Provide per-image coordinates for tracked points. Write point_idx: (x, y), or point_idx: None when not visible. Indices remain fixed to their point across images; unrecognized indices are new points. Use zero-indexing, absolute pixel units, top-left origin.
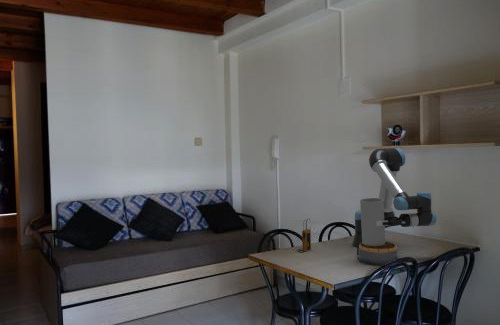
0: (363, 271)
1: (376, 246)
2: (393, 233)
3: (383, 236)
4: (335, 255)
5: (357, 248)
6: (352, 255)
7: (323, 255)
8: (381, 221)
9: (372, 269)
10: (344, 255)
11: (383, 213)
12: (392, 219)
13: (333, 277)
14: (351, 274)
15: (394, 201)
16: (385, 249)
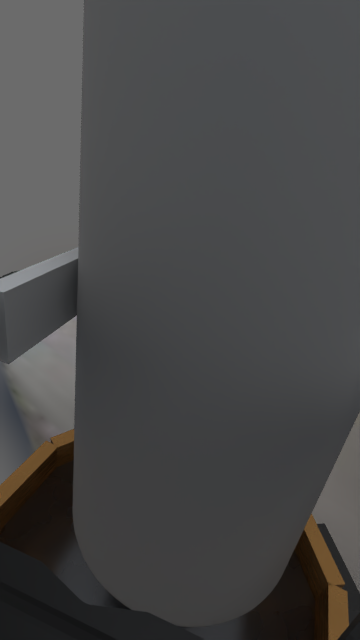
0: (46, 393)
1: (235, 625)
2: None
3: (74, 465)
4: (354, 476)
5: (320, 525)
6: (347, 561)
7: (357, 436)
8: (56, 261)
9: (32, 437)
10: (350, 516)
11: (95, 177)
12: (104, 617)
13: (76, 315)
14: (56, 351)
15: None
16: (5, 484)
